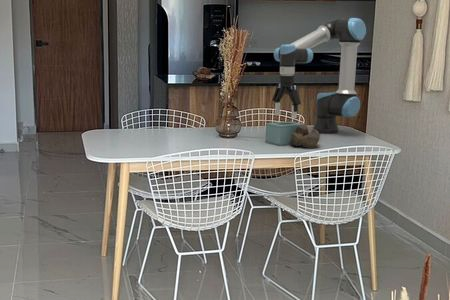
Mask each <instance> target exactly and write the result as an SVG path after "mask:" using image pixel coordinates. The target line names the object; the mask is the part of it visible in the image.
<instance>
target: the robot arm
mask: <svg viewBox="0 0 450 300" xmlns="http://www.w3.org/2000/svg"><path fill="white" fill-rule="evenodd" d="M366 34H367V27H366V25H365V22H364V21H363V19H361V18H359V17H358V18H357V17H345V18H335V19H332V20H329V21H327V22H324V23H323V24H322V25H321V24H320V25H319V26H318V28H317V29H315V30H314V31H312V32H310V33H308V34H306V35H304V36H303V37H301V38H298V39H297V40H295V41H293V42H292V43H290V44H286V43H285V44H281V45H280V47H277V48H276V49H275V50H274V51H273V58H274V60H275V61H276V62H279V74H280V75H279V78H278V79H279V80H278V81H279V83H276V88H275V90H274V93H273V96H272V97H271V98H272V99H271V101H272V102H273V101H274V115H275V116H280V115H281V100H282V98H283V96H284V95H285V94H287V95H288V96H289V99H290V101H291V103H292V105H291V119H297V116H298V114H297V113H298V109H299V108H298V105H301V99H300V95H299V92H298V91H299V90H298V86H297V85H293V84H294V83H295V72H296V70H295V69H296V67H295V66H296V64H308V63H311V62H312V60H313V59H314V52H313V50H312V48H315V47H316V46H318V45H320V44H322V43H327V42H329V41H333V40H334V41H335V40H338V43H339V45H340V46H341V47H340V48H341V49H340V51H341V52H340V63H339V64H340V65H339V76H338V77H339V80H338V89H337V90H336V91H333V92H319V93H318V94H317V95H316V103H315V104H316V106H315V107H316V108H315V109H316V112H315V114H316V115H315V121H314V123H313V126H312V130H313V129H315V130H317V131H318V132H319V134H325V135H327V134H328V135H330V134H339V131H340V128H339V125H338V121H337V116H338V117H344V118H353V117H354V116H356V115H357V114H358V113H359V111H360V108H361V101H360V98H359V97H358V96H357V95H358V94H357V92H356V91H355V85H356V84H355V83H356V71H357V56H358V46H360V45H361V41H362V40H364V38H365V37H366Z"/></svg>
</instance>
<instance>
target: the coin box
mask: <svg viewBox="0 0 450 300" xmlns="http://www.w3.org/2000/svg"><path fill="white" fill-rule="evenodd" d="M299 125H306V124H305V123H301V122H296V121H289V120H287V121H277V122H265V140H264V141H265V143H267V144H270V145H274V146H278V147H279V146H281V147H283V146H292V145H291V144H290V140H291V139H292V133H293V132H295V133H296V128H297V126H299Z"/></svg>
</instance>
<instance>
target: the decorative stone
mask: <svg viewBox="0 0 450 300" xmlns="http://www.w3.org/2000/svg"><path fill="white" fill-rule="evenodd" d="M320 138H321V136H320V133H319V132H318V131H317V130H315V129H313V128H312V129H311V130H310V132H309V128H308V126H307V125H306V124H305V125H299V126H297V128H296V133H295V132H293V133H292V139H291V140H290V144H291V145H290V146H293V147H301V146H303V147H305V148H307V149H315V148H317V145H318V143H319V142H320Z"/></svg>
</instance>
